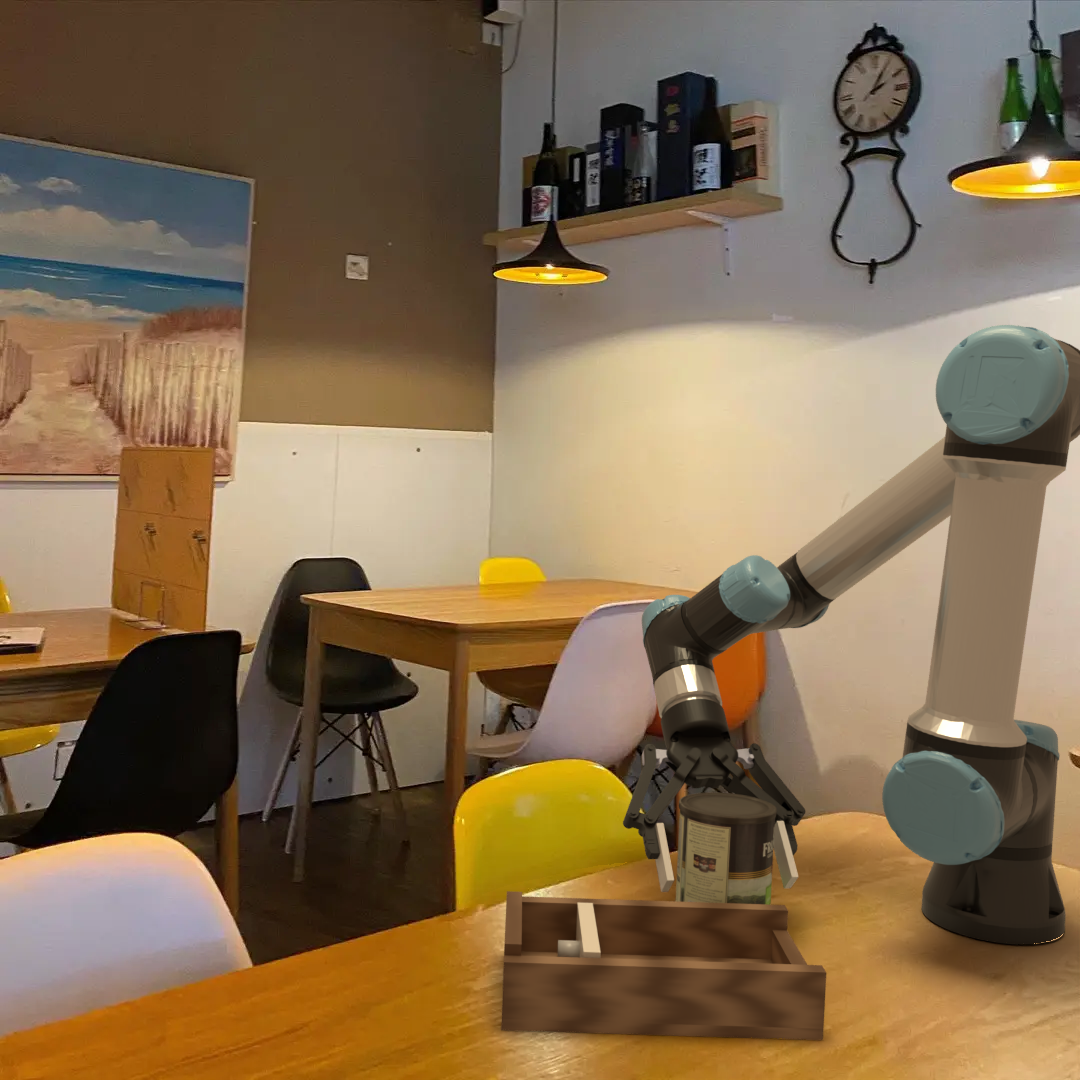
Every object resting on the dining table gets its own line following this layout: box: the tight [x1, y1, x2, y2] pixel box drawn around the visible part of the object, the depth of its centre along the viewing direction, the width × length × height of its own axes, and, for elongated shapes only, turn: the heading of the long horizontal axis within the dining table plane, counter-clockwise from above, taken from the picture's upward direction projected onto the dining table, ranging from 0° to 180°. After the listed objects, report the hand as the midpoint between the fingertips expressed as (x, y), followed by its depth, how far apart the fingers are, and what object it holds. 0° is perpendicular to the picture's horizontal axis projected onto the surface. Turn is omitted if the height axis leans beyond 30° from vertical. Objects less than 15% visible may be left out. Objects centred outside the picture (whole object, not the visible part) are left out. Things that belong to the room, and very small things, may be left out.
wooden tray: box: [500, 891, 827, 1041], centre depth 107 cm, size 28×16×7 cm, turn 91°
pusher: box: [557, 903, 601, 958], centre depth 107 cm, size 4×12×5 cm, turn 1°
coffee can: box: [675, 792, 777, 905], centre depth 122 cm, size 10×10×14 cm
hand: (730, 884), depth 120 cm, fingers open, 13 cm apart
